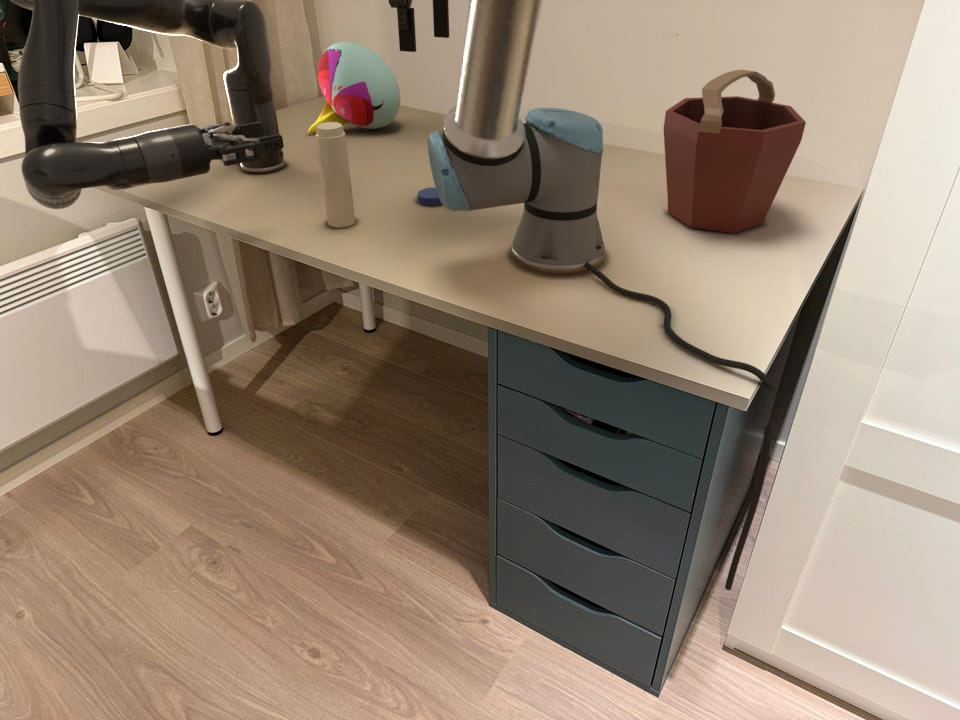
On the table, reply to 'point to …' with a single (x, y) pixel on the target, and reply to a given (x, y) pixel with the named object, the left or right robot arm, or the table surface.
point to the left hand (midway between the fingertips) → (272, 134)
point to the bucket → (728, 154)
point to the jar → (335, 174)
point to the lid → (429, 197)
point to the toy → (356, 87)
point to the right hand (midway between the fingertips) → (425, 44)
